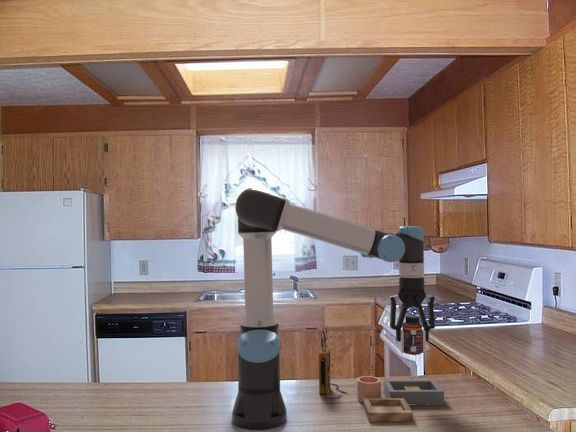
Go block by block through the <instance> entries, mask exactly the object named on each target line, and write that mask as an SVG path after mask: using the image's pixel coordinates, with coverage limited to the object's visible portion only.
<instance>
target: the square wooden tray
mask: <svg viewBox="0 0 576 432" xmlns="http://www.w3.org/2000/svg"><path fill="white" fill-rule="evenodd" d="M362 406H364V407H363V410H364V409H365V410H364V413H365V412H366V413H365V416H366V417H367V421H368V422H369V423H373V422H374V423H383V422H382V421H413V422H414V413H413V412H414V411H412V409H411V407H410V405H408V404H407V402H406V400H405V399H404V398H386V397H381V398H363V402H362ZM380 421H381V422H380Z"/></svg>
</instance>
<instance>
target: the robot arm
mask: <svg viewBox="0 0 576 432" xmlns="http://www.w3.org/2000/svg"><path fill="white" fill-rule="evenodd" d="M234 206H235V213H236V216H237V234H238V235H239V236H240V237H241V238H242V240H243V241H242V243H243V278H244V280H243V281H244V311H245V312H244V315H245V317H244V318H243V319H242V320H241V321H240V336H239V337H238V339H237V345H236V346H237V347H236V349H237V350H236V351H237V369H238V370H237V373H238V375H237V376H238V377H237V379H238V380H237V382H238V383H237V385H238V386H237V387H238V389H237V390H238V391H237V394H236V398H235V402H234V404H233V407H232V411H231V412H232V413H231V420H232V423H233V424H234V425H235V426H237V427H239V428H242V429H247V430H269V429H273V428H276V427H278V426H281V425H283V424H284V423H286V421H287V417H288V416H287V414H288V412H287V407H286V404H285V402H284V398H283V395H282V392H281V354H280V353H281V343H280V330H279V329H280V327H279V320H278V319H277V318H276V317H275V316H274V289H273V286H274V285H273V284H274V283H273V252H272V247H273V245H272V238H273V237H274V236H275V234H276V233H277V232H279V231H282V230H284V231H286V232H291V233H293V234H297V235H301V236H303V237H307V238H309V239H313V240H316V241H320V242H322V243H326V244H330V245H333V246H336V247H339V248H343V249H345V250H350V251H353V252H357V253H360V256H361V257H362V258H368V259H373V258H375V259H378V260H382V261H384V262H387V263H394V262H397V261H398V275H399V276H400V277H399V279H398V293H397V294H395V295H389V297H388V298H389V301H390V312H389V313H390V314H389V327H390V328H391V330H394V331H395V339H396V341H397V342H399V344H398V346H399V352H400V354H405V353H404V332H403V331H402V325H403V323H404V321H405V319H406V316H407V311H408V309H409V308H412V307H413V308H416V310H417V314H418V316H419V320H420V321H421V322H420V324H421V325H422V354H423V353H424V354H426V353H427V351H426V349H427V348H426V342H428V341H429V339H430V333H429V332H430V330H432V329H433V330H434V329H435V328H436V322H435V309H434V302H435V299H436V297H435V296H433V295H432V294H431V295H428V294H427V293H426V291H425V278H424V276H425V261H424V260H425V257H424V256H425V255H424V254H425V239H424V238H425V236H424V229H423V228H422V226H418V225H417V226H415V225H414V226H413V225H410V226H409V225H408V226H402V225H401V226H399V227H398V231H397V232H384V231H380V230H378V229H377V230H376V229H375V228H370V227H367V226H364V225H361V224H358V223H355V222H352V221H349V220H348V221H347V220H344V219H342V218H338V217H334V216H332V215H330V214H325V213H322V212H319V211H317V210H316V211H315V210H312V209H310V208H306V207H303V206H301V205H296V204H293V203H291V202H290V201H289V200H288V198H285V197H282V196H279V195H277V194H274V193H273V192H271V191H268V190H267V189H264V188H262V187H258V186H256V187H254V186H252V187H248V188H247V189H244V190H243V191H242V192H240V194H239V195H238V197H237V199H236V201H235V205H234ZM398 300H399V301H400V302H401V308H400V311H399V315H398V318H396V317H397V303H398ZM424 300H425V301H426V306H427V314H428V315H427V317H428V321H427V319H426V315H425V312H424V308H423V305H422V303H423V302H424ZM396 319H397V320H396Z"/></svg>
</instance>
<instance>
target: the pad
mask: <svg viewBox="0 0 576 432" xmlns="http://www.w3.org/2000/svg"><path fill="white" fill-rule="evenodd" d="M404 390H421V389H420V388H419V387H418V386H404Z"/></svg>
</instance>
